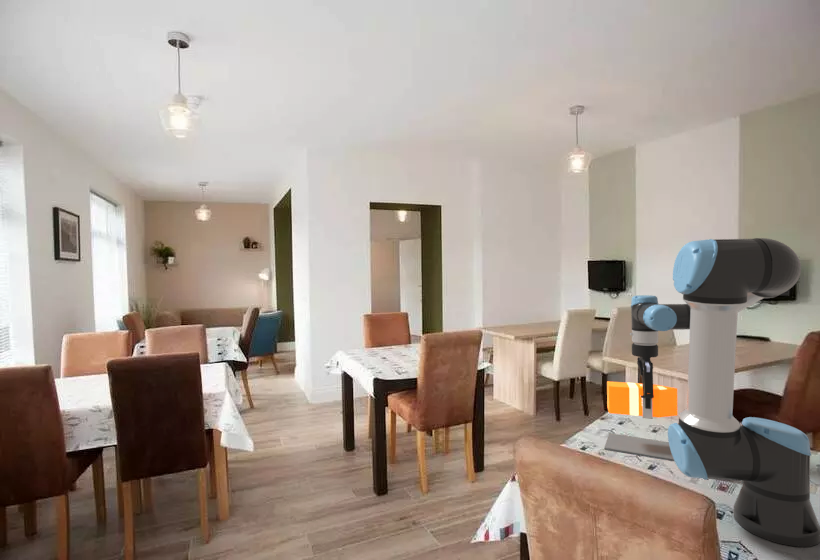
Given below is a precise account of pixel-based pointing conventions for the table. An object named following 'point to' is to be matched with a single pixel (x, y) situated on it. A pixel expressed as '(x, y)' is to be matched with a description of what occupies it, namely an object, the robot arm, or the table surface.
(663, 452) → the mat
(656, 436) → the table surface
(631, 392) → the orange juice
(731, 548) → the table surface
